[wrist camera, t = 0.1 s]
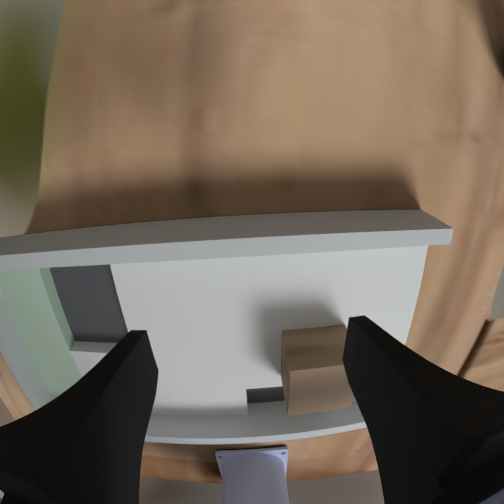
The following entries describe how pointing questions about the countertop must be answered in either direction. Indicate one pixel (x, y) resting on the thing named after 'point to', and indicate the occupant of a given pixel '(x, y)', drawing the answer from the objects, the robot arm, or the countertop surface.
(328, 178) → the countertop surface
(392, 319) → the tray
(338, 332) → the walnut block
